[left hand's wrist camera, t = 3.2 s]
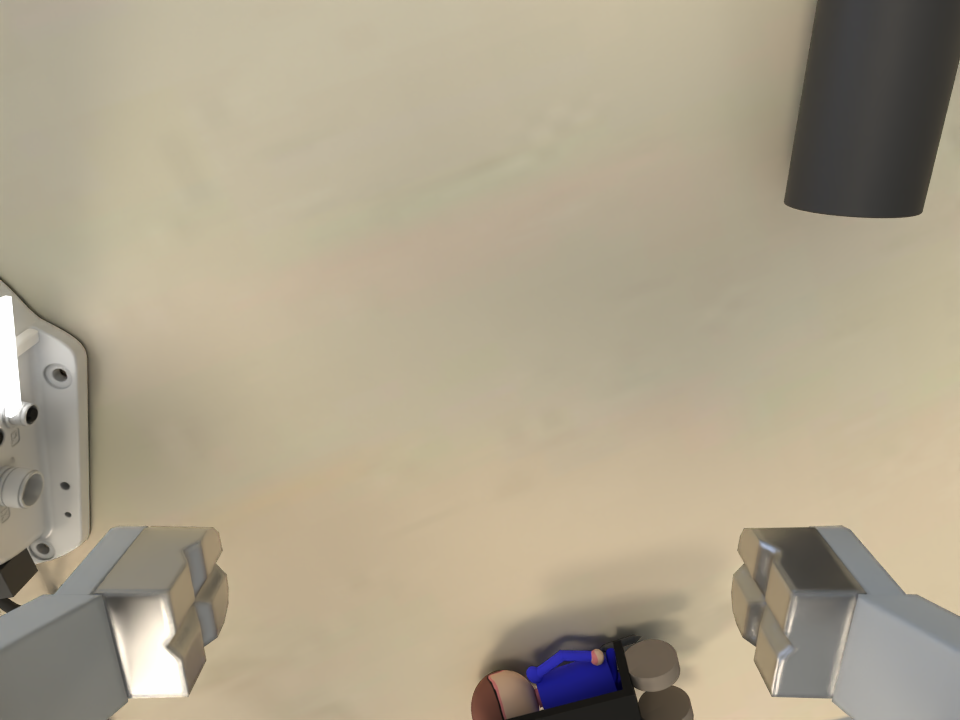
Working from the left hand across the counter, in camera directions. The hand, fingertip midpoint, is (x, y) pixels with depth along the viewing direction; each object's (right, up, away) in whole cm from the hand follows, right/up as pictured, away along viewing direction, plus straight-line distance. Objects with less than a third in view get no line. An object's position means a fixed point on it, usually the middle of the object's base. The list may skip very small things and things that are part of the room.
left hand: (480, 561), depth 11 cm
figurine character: (+7, -19, +40) cm, 45 cm away
